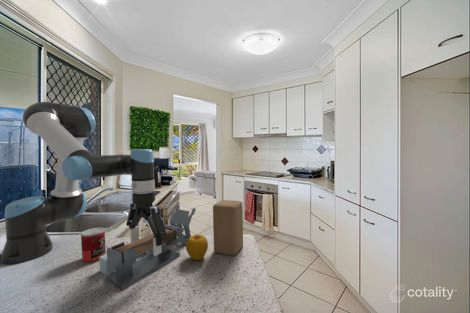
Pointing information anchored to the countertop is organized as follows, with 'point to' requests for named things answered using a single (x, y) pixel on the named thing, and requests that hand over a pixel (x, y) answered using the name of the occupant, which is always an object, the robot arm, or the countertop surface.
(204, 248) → the apple
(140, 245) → the rail
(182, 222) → the bracket
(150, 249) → the rest block
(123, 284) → the bracket
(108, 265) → the rest block
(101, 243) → the canned food
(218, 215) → the wooden block
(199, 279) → the countertop surface
